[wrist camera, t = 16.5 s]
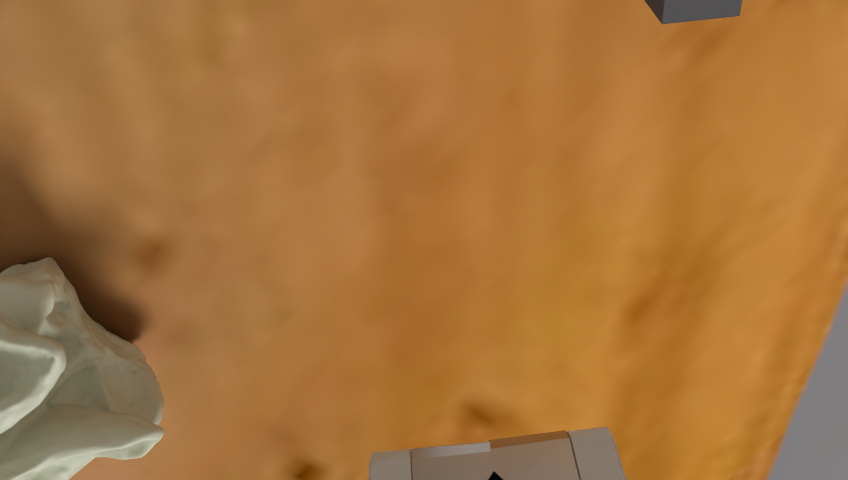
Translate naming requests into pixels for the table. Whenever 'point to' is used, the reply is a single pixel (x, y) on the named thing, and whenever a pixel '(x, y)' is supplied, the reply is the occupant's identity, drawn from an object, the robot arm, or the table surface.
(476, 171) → the table surface
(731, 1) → the long dark grey plank
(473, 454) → the robot arm
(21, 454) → the folded clay sculpture
